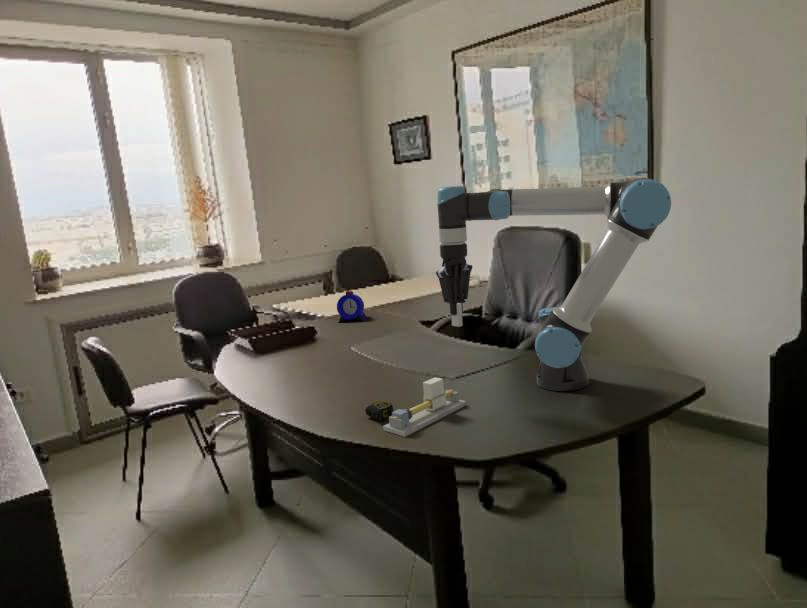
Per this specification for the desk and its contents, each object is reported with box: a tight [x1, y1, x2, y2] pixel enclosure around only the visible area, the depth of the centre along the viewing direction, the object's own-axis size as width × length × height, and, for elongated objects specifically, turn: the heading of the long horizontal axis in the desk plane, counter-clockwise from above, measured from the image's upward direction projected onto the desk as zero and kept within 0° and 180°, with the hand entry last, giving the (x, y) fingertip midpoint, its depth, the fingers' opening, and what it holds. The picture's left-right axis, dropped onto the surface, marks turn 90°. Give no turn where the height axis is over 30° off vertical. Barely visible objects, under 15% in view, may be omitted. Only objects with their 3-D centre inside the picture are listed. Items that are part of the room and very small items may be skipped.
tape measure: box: [364, 400, 394, 422], centre depth 171 cm, size 7×7×4 cm
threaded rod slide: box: [382, 389, 467, 438], centre depth 167 cm, size 25×8×5 cm, turn 135°
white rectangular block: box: [422, 376, 447, 412], centre depth 169 cm, size 5×4×8 cm
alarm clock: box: [336, 290, 367, 324], centre depth 299 cm, size 12×12×15 cm
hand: (457, 325), depth 174 cm, fingers closed
